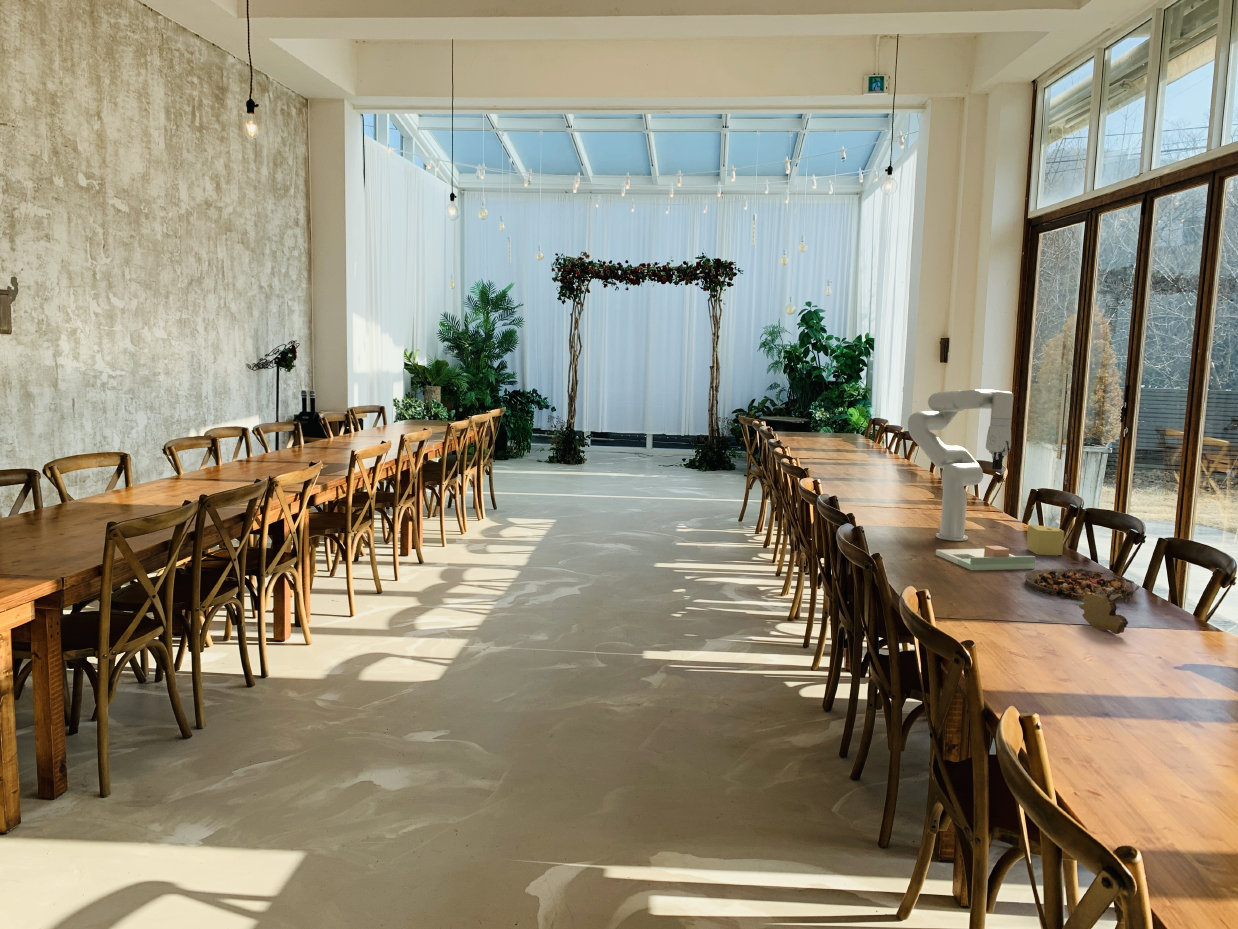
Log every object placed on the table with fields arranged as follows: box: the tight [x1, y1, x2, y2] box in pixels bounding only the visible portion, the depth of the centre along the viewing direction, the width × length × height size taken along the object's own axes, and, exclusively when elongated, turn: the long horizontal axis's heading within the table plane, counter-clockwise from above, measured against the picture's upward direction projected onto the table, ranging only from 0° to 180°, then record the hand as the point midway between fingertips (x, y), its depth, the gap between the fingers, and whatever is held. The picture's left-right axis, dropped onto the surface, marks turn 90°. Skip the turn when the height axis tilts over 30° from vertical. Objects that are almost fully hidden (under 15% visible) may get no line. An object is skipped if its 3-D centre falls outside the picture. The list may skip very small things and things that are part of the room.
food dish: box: [1024, 567, 1140, 604], centre depth 291 cm, size 35×33×8 cm
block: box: [983, 545, 1011, 557], centre depth 321 cm, size 6×6×5 cm
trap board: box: [935, 548, 1036, 571], centre depth 329 cm, size 24×25×4 cm
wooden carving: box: [1078, 594, 1129, 635], centre depth 249 cm, size 16×5×10 cm, turn 17°
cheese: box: [1026, 524, 1065, 556], centre depth 346 cm, size 10×11×10 cm
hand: (996, 469), depth 347 cm, fingers closed
